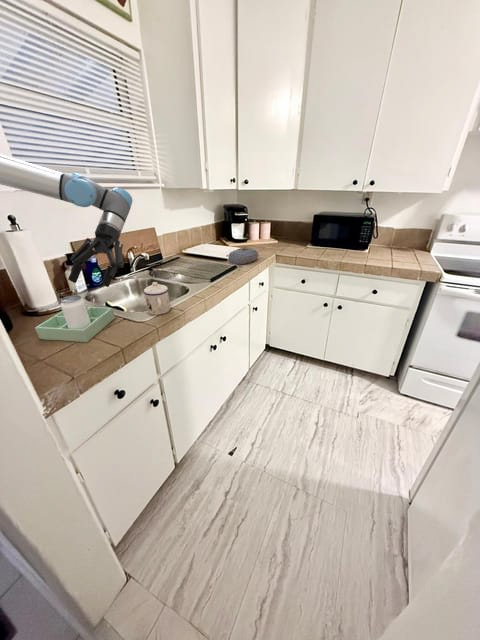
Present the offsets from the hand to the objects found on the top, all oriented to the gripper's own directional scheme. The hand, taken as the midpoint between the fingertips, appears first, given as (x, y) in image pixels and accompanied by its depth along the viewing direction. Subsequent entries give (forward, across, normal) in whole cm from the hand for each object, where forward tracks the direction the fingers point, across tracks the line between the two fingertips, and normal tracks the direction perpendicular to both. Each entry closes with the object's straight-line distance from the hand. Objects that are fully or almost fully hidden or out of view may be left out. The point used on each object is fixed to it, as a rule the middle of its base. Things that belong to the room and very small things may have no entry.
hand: (88, 283), depth 87 cm
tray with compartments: (+14, +4, -8) cm, 17 cm away
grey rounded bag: (-57, -27, -79) cm, 101 cm away
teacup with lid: (0, -16, -22) cm, 27 cm away
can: (+16, 0, -5) cm, 17 cm away
